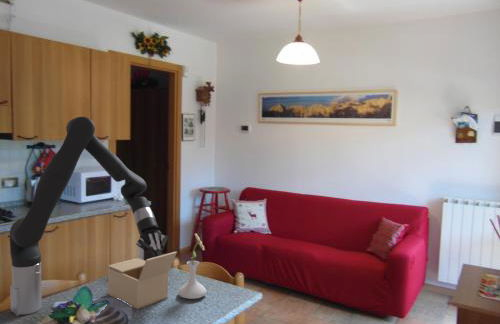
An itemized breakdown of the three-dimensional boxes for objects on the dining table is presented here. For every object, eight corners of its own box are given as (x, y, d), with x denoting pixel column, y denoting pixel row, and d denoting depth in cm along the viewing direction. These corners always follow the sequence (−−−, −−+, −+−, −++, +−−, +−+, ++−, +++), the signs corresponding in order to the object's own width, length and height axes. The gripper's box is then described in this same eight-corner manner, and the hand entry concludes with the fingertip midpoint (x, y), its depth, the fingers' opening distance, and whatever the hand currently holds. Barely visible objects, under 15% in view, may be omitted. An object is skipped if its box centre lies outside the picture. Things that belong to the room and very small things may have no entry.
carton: (137, 309, 149) (137, 280, 148) (108, 294, 161) (108, 267, 161) (167, 298, 159) (167, 271, 159) (137, 285, 172) (138, 259, 171)
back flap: (122, 272, 155) (122, 271, 154) (108, 266, 161) (108, 265, 161) (151, 264, 165) (151, 263, 165) (137, 259, 171) (137, 257, 171)
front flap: (138, 279, 148) (139, 281, 147) (146, 259, 144) (147, 260, 144) (167, 270, 158) (168, 271, 158) (176, 251, 154) (176, 252, 154)
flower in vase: (201, 303, 156) (202, 239, 154) (173, 300, 158) (174, 237, 156) (211, 290, 168) (212, 231, 166) (185, 287, 171) (186, 229, 169)
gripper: (132, 218, 152) (146, 258, 144) (164, 214, 161) (179, 252, 152) (126, 228, 156) (140, 268, 148) (157, 224, 165) (171, 261, 157)
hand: (159, 260), depth 150 cm, fingers closed
